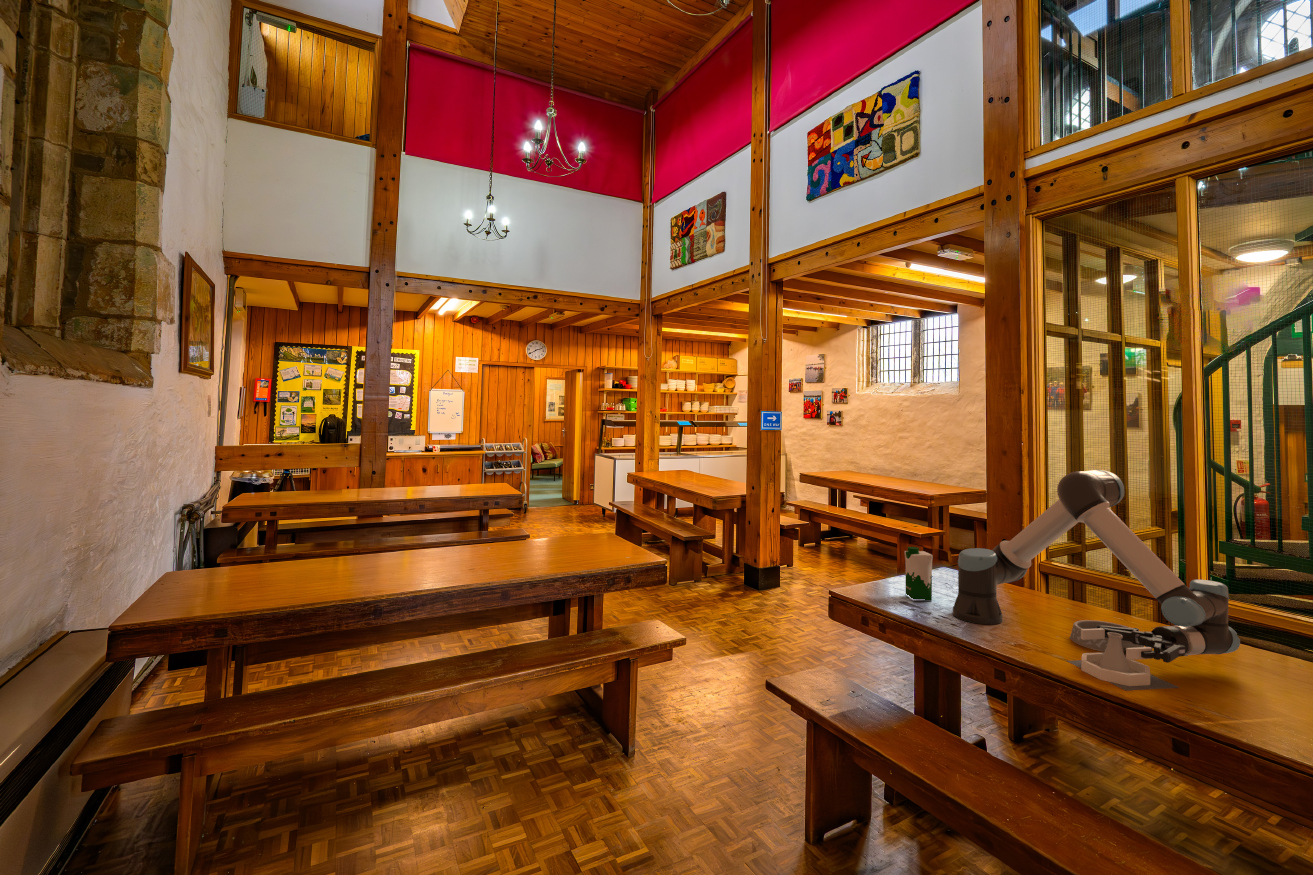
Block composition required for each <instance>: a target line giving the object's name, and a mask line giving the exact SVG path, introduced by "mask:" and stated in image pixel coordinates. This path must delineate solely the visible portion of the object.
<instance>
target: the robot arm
mask: <svg viewBox="0 0 1313 875" xmlns="http://www.w3.org/2000/svg"><path fill="white" fill-rule="evenodd" d="M1056 488H1057V489H1056V493H1057V497H1058V500H1056V501H1055V502H1054V503H1053V504H1052V505H1050V506H1049V507H1048V508H1047V509H1046V510H1044V511H1043V512H1042V513H1041V514H1040V515H1038V516H1037V517H1036V518H1035V519H1034V520H1033V521H1031V522H1030V523H1029V524H1028V525H1026V527H1025V528H1023V529H1022V530H1021V531H1020V532H1018V534H1015V536H1013V538H1011V539H1010V540H1002V541H1000V543H998V544H997V545H996V546H995V547H993V548H992V549H988V548H983V547H982V548H979V547H976V548H966V549H963V550H961V551H960V552H959V554H958V560H957V566H958V567H957V568H958V569H957V572H958V573H957V574H958V575H957V576H958V577H957V580H958V581H957V582H958V583H957V584H958V585H957V586H958V587H957V588H958V592H957V593H958V594H957V596H956V599H955V602H954V604H953V607H952V615H953V617H955V616H956V617H957V618H956V617H955V618H956V619H958V618H959V619H958V620H961V621H964V622H968V623H972V624H977V625H998V624H999V625H1000V624H1001V623H1002V622H1003V613H1002V609H1001V607H1000V604H999V601H998V598H997V586H998V585H1002V584H1007V583H1014V582H1016V581H1019V580H1020V579H1022V578H1024V577H1025V575H1026V574H1027V572H1028V569H1030V567H1031V566H1032V560H1033V559H1034V558H1035V557H1037V556H1038V555H1039V554H1040V553H1042V552H1043V551H1044V550H1046V549H1047V548H1048V547H1049V546H1050V545H1052V544H1053V543H1054V542H1056V541H1057V540H1058V539H1060V538H1061V537H1063V535H1065V533H1067V532H1068V531H1070V530H1071V529H1072V528H1074V526H1076V525H1077V524H1079V523H1083V524H1084V525H1085V526H1086V527H1087V528H1088V529H1089V530H1090V531H1091V532H1092V533H1093V534H1094V535H1095V536H1096V538H1098V539H1099V541H1100V542H1102V543H1103V545H1105V547H1106V548H1107V549H1108V550H1109V551H1110V552H1111V553H1112V555H1114V556H1115V557H1116V558H1117V560H1119V561H1120V562H1121V564H1122V565H1124V566H1125V568H1126V569H1127V570H1128V571H1129V572H1130V573H1131V574H1132V575H1133V576H1134V577H1135V578H1136V579H1137V580H1138V582H1139V583H1141V584H1142V586H1144V588H1145V589H1146V590H1147V591H1148V592H1149V593H1150V594H1151V595H1152V596H1153V597H1154V598H1155V599H1156V600H1157V601H1158V603H1159V604H1160V605H1161V607H1160V609H1161V613H1162V615H1163V617H1164V618H1165V619H1166V620H1167V622H1169V623H1171V624H1173V625H1171V626H1170V625H1165V626H1164V625H1163V626H1156V627H1154V628H1153V629H1152V630H1151V631H1140V629H1139V628H1138V627H1137V628H1136V627H1130V628H1123V627H1113V626H1103V625H1097V629H1081V639H1082V640H1090V639H1102V640H1103V639H1105V638H1109V636H1108V634H1107V633H1108V632H1113V633H1118V634H1121V635H1122V636H1123V638H1122V639H1121V640H1123V641H1129V642H1132V643H1133V644H1137V645H1143V646H1144V647H1138V648H1126V651H1125V657H1126V659H1128V660H1150V659H1151V660H1156V661H1160V660H1162V662H1164V663H1166V664H1167V663H1168V664H1169V663H1172V662H1173V661H1174V660H1176V659H1178V658H1179V657H1189V656H1193V655H1198V656H1199V655H1223V654H1229V653H1233V652H1236V651H1237V650H1238V649H1239V648H1240V646H1241V639H1240V638H1239V636H1238V633H1237V632H1236V631H1235V629H1233V628H1232V627H1231V626H1229V600H1230V596H1229V587H1228V586H1227V585H1226V584H1225V583H1222V582H1219V581H1214V580H1209V579H1207V580H1206V579H1192V580H1191V581H1190V582H1189V587H1188V586H1187V584H1185V583H1184V582H1183V581H1182V580H1181V579H1180V578H1179V577H1178V576H1177V575H1176V574H1175V573H1174V572H1173V570H1172V569H1171V568H1169V567H1168V566H1167V565H1166V564H1165V563H1164V562H1163V560H1161V558H1160V557H1158V556H1157V554H1156V553H1154V552H1153V550H1152V549H1151V548H1149V547H1148V545H1147V544H1146V543H1144V542H1143V540H1142V539H1141V538H1140V537H1139V536H1137V534H1136V533H1135V532H1134V531H1132V529H1131V528H1130V527H1128V526H1127V525H1126V523H1125V522H1124V521H1123V520H1121V518H1120V517H1118V515H1116V513H1114V511H1113V510H1112V509H1111V507H1113V506H1117V504H1119V503H1120V502H1121V501H1122V500H1123V498H1124V496H1125V485H1124V483H1123V481H1122V480H1121V478H1120V477H1119V476H1118V475H1117V474H1115V473H1113V472H1110V471H1109V470H1102V469H1092V470H1083V471H1081V470H1080V471H1072V472H1070V473H1068V474H1065V475H1064V476H1062V478H1061V479H1060V480H1059V482H1058V484H1057V487H1056ZM1136 638H1138V642H1137V641H1136Z"/></svg>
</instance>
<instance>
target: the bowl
mask: <svg viewBox="0 0 1313 875" xmlns="http://www.w3.org/2000/svg"><path fill="white" fill-rule="evenodd" d="M1103 654H1104V652H1086V653H1084V652H1083V653H1082V655H1081V659H1080V660H1081V668H1080V670H1081V671H1082V672H1084V673H1085V674H1088V675H1089V676H1092V677H1094V678H1096V679H1098V680H1100V681H1104V682H1107V681H1108V683H1109V682H1113V683H1117V684H1122V685H1126V686H1142V685H1150V674H1151V669H1150V666H1148V665H1147V664H1144V663H1142V662H1140V661H1138V660H1136V659H1134V660H1128V659H1126V660H1127V663H1128V665H1129V667H1130V670H1131V672H1132V673H1123V672H1118V671H1113V670H1108V669H1104V668H1101V667H1099V666H1098V663H1099V661H1100V660H1101V658H1102V656H1103Z"/></svg>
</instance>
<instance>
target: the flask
mask: <svg viewBox="0 0 1313 875" xmlns="http://www.w3.org/2000/svg"><path fill="white" fill-rule="evenodd" d="M1107 634H1108V636H1109V640H1108V645H1107V648H1106V650H1105V652H1103V653H1104V654H1103V656H1102V658H1101V660H1100V661H1099V663H1098V666H1099V667H1101V668H1104V669H1108V670H1113V671H1118V672H1123V673H1132V672H1131V670H1130V667H1129V665H1128V663H1127V660H1126V654H1125V651H1123V649H1122V644H1121V639H1122V638H1123V636H1122V635H1121V634H1118V633H1113V632H1108V633H1107Z"/></svg>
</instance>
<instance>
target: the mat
mask: <svg viewBox="0 0 1313 875" xmlns="http://www.w3.org/2000/svg"><path fill="white" fill-rule="evenodd" d="M1081 660H1082V659H1080V660H1079V659H1077V660H1066V662H1068V663H1069V664H1071V665H1074V666H1076V667H1078V668H1079V669H1081ZM1106 682H1108V681H1106ZM1108 683H1110V684H1112V685H1113V686H1115V687H1118V688H1120V689H1122V690H1123V691H1126V692H1127V691H1142V690H1144V691H1145V690H1160V689H1161V690H1162V689H1163V690H1164V689H1180V687H1179V686H1177V685H1175V684H1173V683H1171V682H1168V681H1166V680H1164V679H1161V678H1159V677H1158V676H1155V675H1153V674H1151V673H1150V685H1142V686H1126V685H1122V684H1117V683H1113V682H1108Z"/></svg>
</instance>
